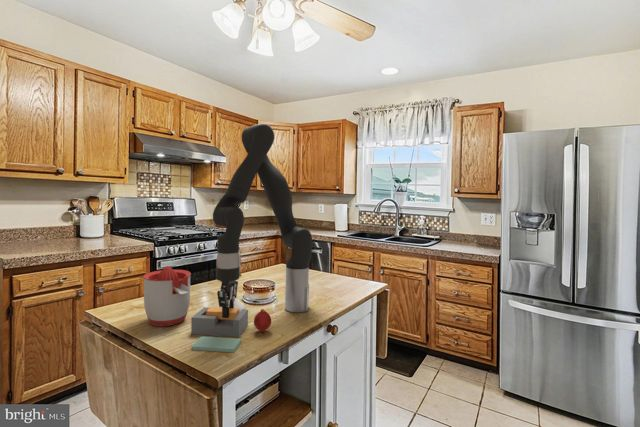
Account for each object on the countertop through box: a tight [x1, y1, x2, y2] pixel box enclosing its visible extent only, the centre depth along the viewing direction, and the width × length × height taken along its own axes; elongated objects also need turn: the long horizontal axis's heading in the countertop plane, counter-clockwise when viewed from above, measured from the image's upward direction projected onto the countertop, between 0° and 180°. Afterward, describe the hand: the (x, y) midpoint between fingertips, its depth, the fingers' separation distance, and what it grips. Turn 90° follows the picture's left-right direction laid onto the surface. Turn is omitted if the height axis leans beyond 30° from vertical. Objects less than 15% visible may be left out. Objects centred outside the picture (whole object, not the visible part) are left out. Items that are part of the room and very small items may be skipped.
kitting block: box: [190, 306, 249, 338], centre depth 116 cm, size 16×10×6 cm, turn 85°
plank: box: [206, 306, 239, 320], centre depth 115 cm, size 10×4×2 cm, turn 86°
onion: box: [253, 308, 272, 333], centre depth 114 cm, size 6×6×8 cm
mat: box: [190, 335, 242, 353], centre depth 104 cm, size 13×7×1 cm, turn 85°
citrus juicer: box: [142, 265, 192, 328], centre depth 121 cm, size 16×17×20 cm
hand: (228, 314), depth 115 cm, fingers closed on plank, 4 cm apart
